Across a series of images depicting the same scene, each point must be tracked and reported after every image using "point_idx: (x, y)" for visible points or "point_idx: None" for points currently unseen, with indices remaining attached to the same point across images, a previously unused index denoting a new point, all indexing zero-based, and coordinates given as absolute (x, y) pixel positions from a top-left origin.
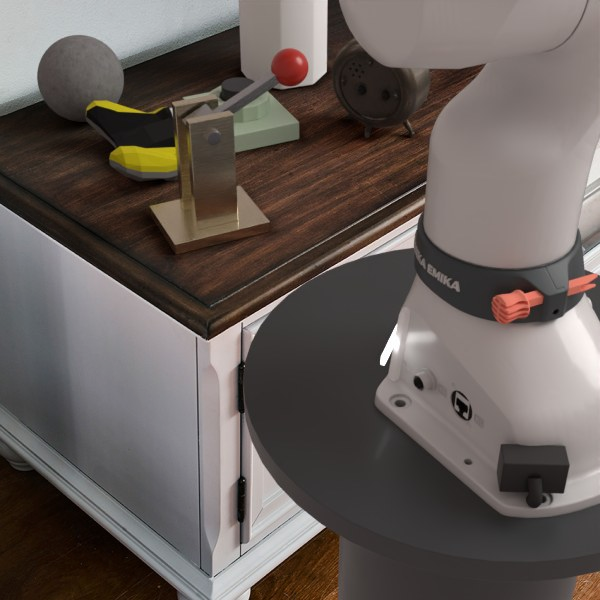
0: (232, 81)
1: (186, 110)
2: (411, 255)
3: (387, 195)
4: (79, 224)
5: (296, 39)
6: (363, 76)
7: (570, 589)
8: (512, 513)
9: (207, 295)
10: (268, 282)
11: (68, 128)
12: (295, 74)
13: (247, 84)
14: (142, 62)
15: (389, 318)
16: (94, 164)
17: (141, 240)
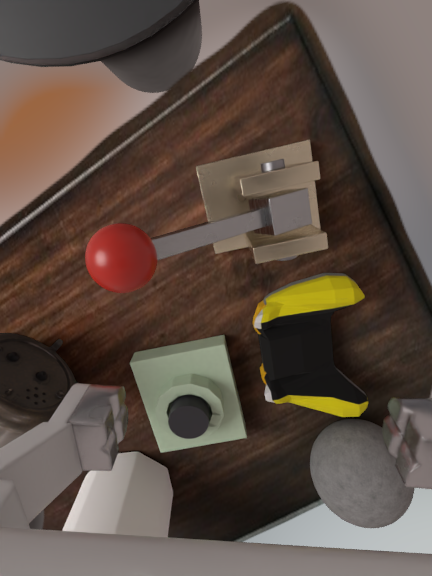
0: (194, 430)
1: (304, 234)
2: (40, 39)
3: (54, 216)
4: (392, 228)
5: (105, 500)
6: (30, 385)
7: None
8: None
9: (288, 43)
10: (216, 55)
11: (363, 417)
12: (115, 224)
13: (178, 420)
14: (267, 525)
15: None
16: (352, 344)
17: (336, 180)
